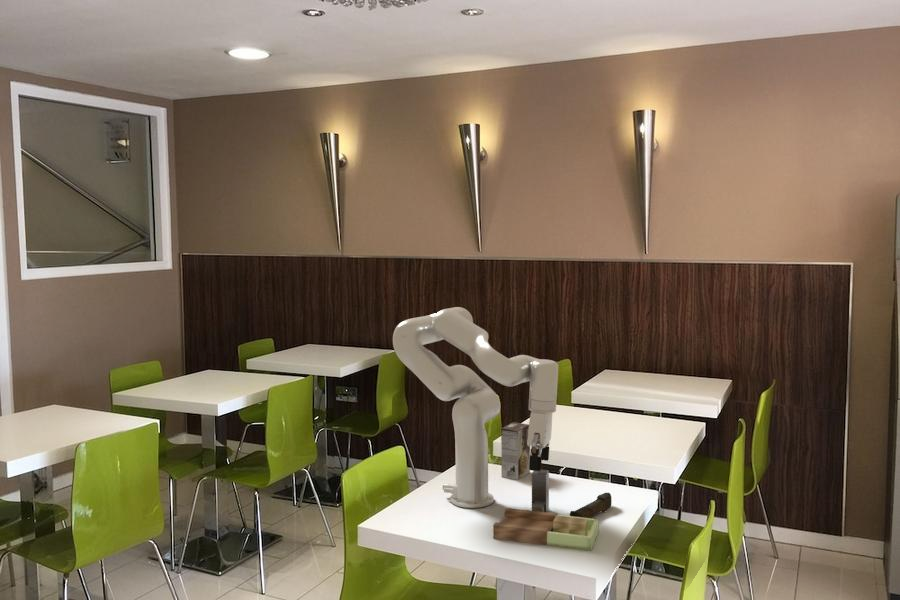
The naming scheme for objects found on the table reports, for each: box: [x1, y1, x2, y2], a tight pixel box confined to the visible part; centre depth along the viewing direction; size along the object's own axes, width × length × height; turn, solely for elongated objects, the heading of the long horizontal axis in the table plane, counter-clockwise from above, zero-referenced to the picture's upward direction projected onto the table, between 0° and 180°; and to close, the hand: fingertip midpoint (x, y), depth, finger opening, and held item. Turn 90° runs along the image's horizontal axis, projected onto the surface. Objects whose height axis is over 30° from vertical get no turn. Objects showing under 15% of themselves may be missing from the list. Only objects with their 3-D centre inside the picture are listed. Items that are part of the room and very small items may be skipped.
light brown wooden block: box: [569, 517, 587, 536], centre depth 196 cm, size 4×4×4 cm
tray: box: [546, 514, 600, 551], centre depth 196 cm, size 11×13×3 cm
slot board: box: [492, 507, 558, 546], centre depth 200 cm, size 14×13×4 cm
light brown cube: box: [553, 515, 572, 534], centre depth 197 cm, size 4×4×4 cm
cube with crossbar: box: [531, 469, 550, 513], centre depth 213 cm, size 4×8×12 cm, turn 162°
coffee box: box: [500, 421, 531, 480], centre depth 248 cm, size 9×6×16 cm
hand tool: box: [569, 492, 612, 519], centre depth 212 cm, size 19×4×5 cm, turn 136°
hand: (539, 464), depth 213 cm, fingers open, 9 cm apart
